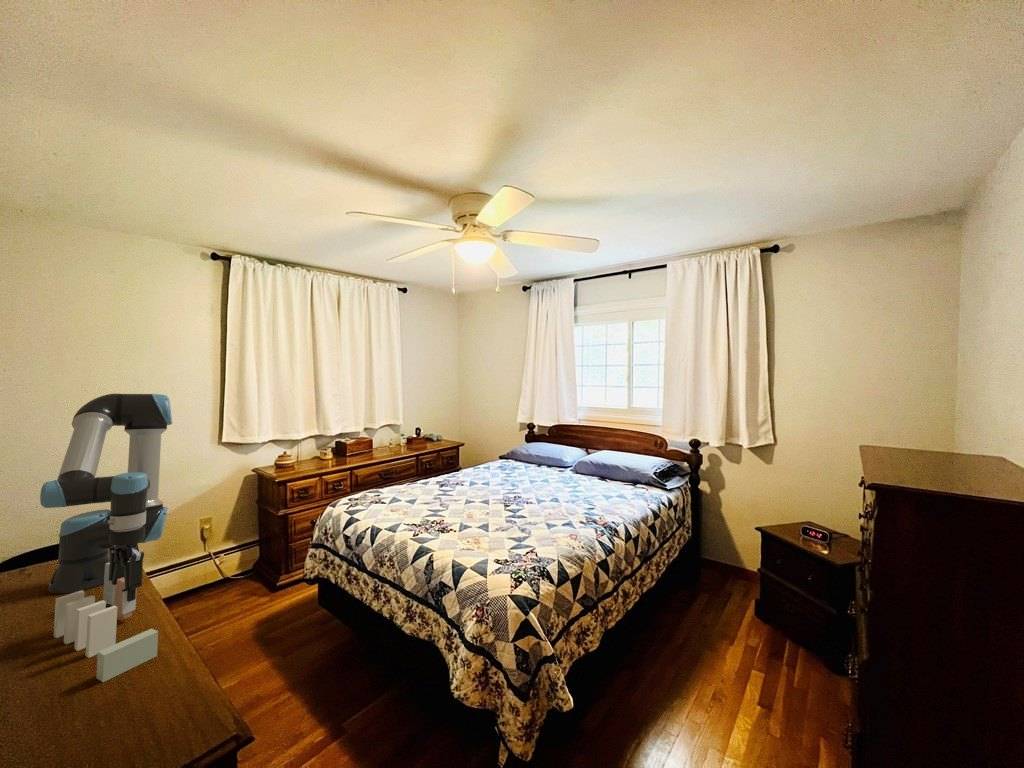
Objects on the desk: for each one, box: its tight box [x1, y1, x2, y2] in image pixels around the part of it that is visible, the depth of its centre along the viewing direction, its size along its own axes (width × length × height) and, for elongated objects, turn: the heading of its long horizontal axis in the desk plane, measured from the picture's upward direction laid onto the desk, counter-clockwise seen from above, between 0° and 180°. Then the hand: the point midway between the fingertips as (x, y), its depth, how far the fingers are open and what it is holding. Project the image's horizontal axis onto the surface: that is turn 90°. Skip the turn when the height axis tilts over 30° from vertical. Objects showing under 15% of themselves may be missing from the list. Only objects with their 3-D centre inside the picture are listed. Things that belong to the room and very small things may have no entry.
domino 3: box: [73, 599, 107, 652], centre depth 102 cm, size 2×5×10 cm, turn 156°
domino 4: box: [85, 605, 118, 659], centre depth 100 cm, size 2×5×10 cm, turn 156°
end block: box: [95, 628, 159, 683], centre depth 94 cm, size 3×10×6 cm, turn 156°
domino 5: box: [116, 577, 133, 620], centre depth 113 cm, size 2×5×10 cm, turn 66°
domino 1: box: [53, 590, 86, 639], centre depth 107 cm, size 2×5×10 cm, turn 156°
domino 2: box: [63, 594, 96, 645], centre depth 105 cm, size 2×5×10 cm, turn 156°
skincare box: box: [102, 561, 129, 606], centre depth 123 cm, size 6×4×12 cm
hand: (123, 608), depth 113 cm, fingers closed on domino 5, 5 cm apart
